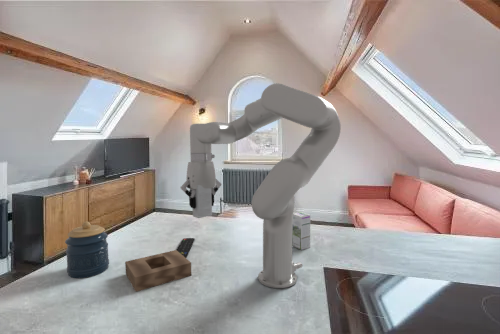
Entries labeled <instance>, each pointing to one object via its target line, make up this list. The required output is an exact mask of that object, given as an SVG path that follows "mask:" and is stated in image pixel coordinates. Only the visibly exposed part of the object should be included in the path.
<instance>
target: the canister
mask: <svg viewBox="0 0 500 334" xmlns="http://www.w3.org/2000/svg"><path fill="white" fill-rule="evenodd" d="M105 231H106V229H105V228H104V227H103V226H101V225H99V224H91V223H90V221H84V222H83V223H82V224H81V226H78V227H74V228H73V229H72V230H70V231H69V232H68V233H67V237H68V238H66V239H65V240H64V244H65V245H66V249H65V253H66V265H67V267H66V273H67V274H68V277H70V278H72V279H85V278H90V277H94V276H97V275H100V274H102V273H104V272H105V271H107V269H109V264H110V259H109V243H108V242H107V238H108V237H109V236H108V233H106V232H105Z"/></svg>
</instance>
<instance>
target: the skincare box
mask: <svg viewBox="0 0 500 334" xmlns="http://www.w3.org/2000/svg"><path fill="white" fill-rule="evenodd" d="M194 197H195V203H196V208H195V209H193V208H192V217H193V218H196V219H202V218H206V217H210V216H213V209H212V208H213V206H212V194H211V188H203V187H202V186H201V185H197V190H196V192H195V195H194Z"/></svg>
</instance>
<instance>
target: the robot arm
mask: <svg viewBox="0 0 500 334" xmlns="http://www.w3.org/2000/svg"><path fill="white" fill-rule="evenodd" d="M243 111H244V113H243V115H241V116H240V117H238V118H236V119H234V120H232V121H230V122H228V123H227V122H218V121H211V122H206V123H193V124H191V125H190V127H189V144H190V145H189V147H190V150H189V152H190V161H188V162H187V163H188V164H187V168H186V178H185V179H186V180H185V182H184V183H183V184H182V185H181V186H180V190H181V191H182V192H183V193H185V194H186V195H187V197H188V199H189V201H188V202H189V207H190V208H191V209H192V210H193V209H195V208H196V203H195V197H194V195H195V192H196V190H197V185H201V186H202V187H203V188H211V194H212V207H214V203H215V195H216V193H217V192H218V191H219V189H220V188H221V186H222V183H221V182H220V181H219V180H218V179H217V178H216V170H215V163H214V161H212V160H213V159H215V157H216V156H215V154H213V153H212V145H228V144H233V143H235V142H238V141H241V140H242V139H245V138H246V137H248V136H250V135H252V134H253V133H255V132H257V130H259V129H261V128H263V127H265V126H268V125H269V124H273V123H274V122H276V121H279V120H281V119H284V120H287V121H290V122H293V123H295V124H298V125H300V126H303V127H306V128H308V129H311V130H310V132H309V134H307V136H306V137H305V138H304V139H303V141H302V142H301V143H300V145H299V146H298V148H297V149H296V151H294V153H293V154H292V155H291V156H290V157H288V158H287V157H286V158H284V159H281V160H279V161H278V162H276V164H275V165H274V166H273V167H272V168H271V169H270V171H269V172H268V174H267V175H266V176H265V178H264V179H263V181H261V183H260V185H259V187H257V189H256V191H255V192H254V193H253V196H252V199H251V208H252V212H253V214H254V215H255V216H256V217H257V218H258V219H260V220H263V221H262V222H263V223H262V270H261V271H259V273H258V274H257V275H258V276H257V277H258V281H259V283H260V284H262V285H263V286H265V287H269V288H271V289H272V288H274V289H286V288H290V287H292V286H294V285H295V284H296V283H297V280H298V277H297V274H296V271H297V270H299V269H301V268H302V267H303V263H302V262H301V261H299V262H296V263H295V261H293V246H292V233H293V214H294V213H295V212H294V211H295V203H296V201H295V200H296V199H295V195H296V194H297V193H298V191H299V190H300V189H302V188H303V187H305V186H306V185H308V184H309V182H310V181H311V179H312V178H313V176H314V175H315V174H316V172H317V171H318V170H319V169H320V168H321V166H322V165H323V163H324V161H325V160H326V159H327V158H328V156H330V154H331V152H332V151H333V149H334V148H335V146H336V144H337V143H338V141H339V139H340V134H341V126H342V125H341V119H340V116H339V114H338V112H337V110H336V108H335V106H333V105H332V103H331V102H329V101H327V100H326V99H324V98H322V97H320V96H318V95H315V94H312V93H308V92H306V91H303V90H300V89H296V88H294V87H290V86H288V85H286V84H282V83H279V82H277V83H272V84H270V85H268V86H267V87H266V88H264V90H263V91H262V92H261V96H260V98H258V99H256V100H254V101H252V102H250V103H248V104H247V105H245V107H244V110H243ZM188 189H189V190H188Z"/></svg>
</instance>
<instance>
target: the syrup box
mask: <svg viewBox="0 0 500 334" xmlns="http://www.w3.org/2000/svg"><path fill="white" fill-rule="evenodd" d="M293 247H294V248H295V249H299V251H300V250H301V251H303V250H306V249H309V248H311V214H309V213H306V212H303V211H299V212H294V213H293V233H292V248H293Z"/></svg>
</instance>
